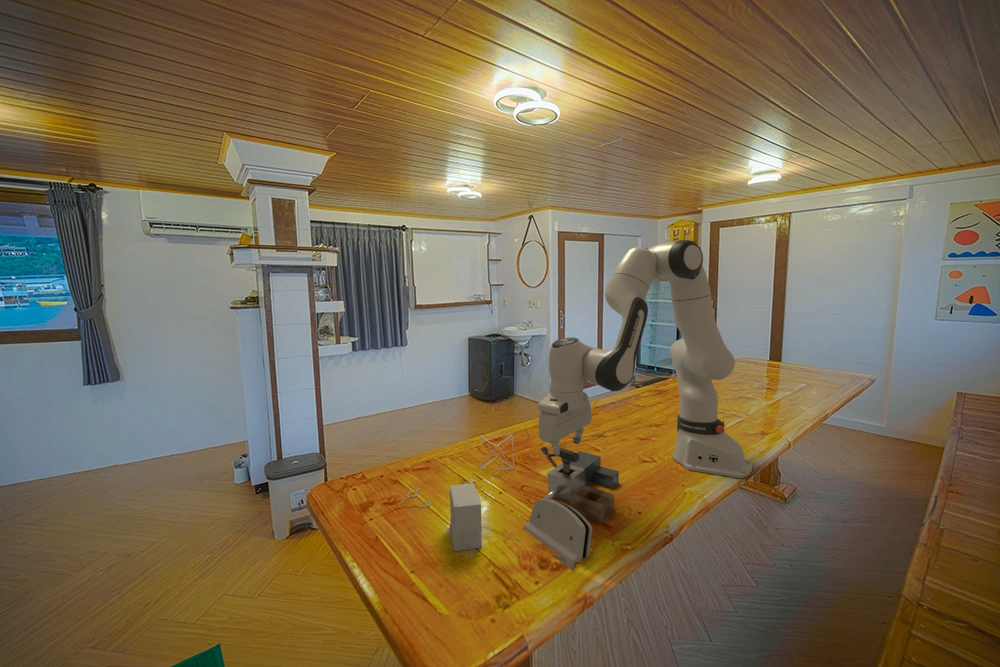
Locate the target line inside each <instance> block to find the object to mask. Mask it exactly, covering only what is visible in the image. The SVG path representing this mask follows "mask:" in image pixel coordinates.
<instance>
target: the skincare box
mask: <svg viewBox="0 0 1000 667" xmlns="http://www.w3.org/2000/svg"><path fill="white" fill-rule="evenodd" d="M449 505H450V506H449V508H450V513H449V514H450V531H451V533H450V534H451V538H452V544H453V549H454V552H458V551H465V550H473V549H479V548H482V547H483V545H482V542H483V541H482V504H481V499H480V497H479V494H478V490H477V488H476V485H475V483H473V482H472V483H464V484H462V483H461V484H453V485H449Z"/></svg>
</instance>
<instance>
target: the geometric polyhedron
mask: <svg viewBox="0 0 1000 667" xmlns="http://www.w3.org/2000/svg"><path fill="white" fill-rule="evenodd" d="M493 436H494V437H495V436H501V434H485V435H483V434H482V435H479V438H480V439H482V441H483V442H484V444H485V445H486V446H487V447H488V448H489V449H490V450H491V453H490V454H489V455H488V457H487V458H486V459H485V461H484V462H483V464H482V465H481V466H480V467H479V469H480V470H481V471H482V470H485V467H486V466H487V465H489V464H490V463H491V462H492V461H494V460H495V459H496V458H498V459H499V460H501V461H502V462H503V463H505V464H506V465H508V466H509V467H506V468H505V467H504V468H503V467H501V468H500V467H499V468H494V470H508V469H512V470H513V469H514V468H515V461H514V460H515V458H514V457H515V456H514V454H512V462H513V464H511V462H510V461H509V459H507V457H506V456H505V455H504V454H503V452H502V451H503V449H504V448H505V446H506V445H507V443H509V440H510V439H511V441H512V442H511V443H512V444H511V445H512V446H511V447H512V448H514V441H513V440H514V438H513V436H514V435H513V434H507V436H508V437H507V438H505V439H503V440H502V441H501V442H500V443H498V444H494V443H493V442H491V441H489V440H488V439H487V438H485V437H493ZM486 441H487V442H488V443H490V444H491V445H493V446H494V448H493V450H492V448H491V447H490V446H489V444H487V442H486ZM505 441H506V442H505ZM504 442H505V444H504V445H503V447H502V448H501V449H499V447H498V446H499V445H501V444H502V443H504ZM496 449H497V450H498V451H499V452H498V454H497V453H495V452H494V451H495V450H496ZM492 454H493V455H494V456H495V457H494V458H492V460H490V461H488V459H489V458H490V456H491V455H492ZM500 454H501V455H502V456H503V457H504V459H505V460H506V461H507V462H506V461H505V460H503V459H502V458H501V457H498V456H499V455H500ZM493 459H494V460H493ZM487 461H488V462H487Z"/></svg>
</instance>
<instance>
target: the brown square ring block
mask: <svg viewBox="0 0 1000 667" xmlns="http://www.w3.org/2000/svg"><path fill="white" fill-rule="evenodd" d="M569 506H571V507H572V508H574V509H575V510H577V511H578V512H579V513H580V514H581V515H582V516H583V517H584V518H585V519H586V520H587V521H588V522H589V521H590V522H593V523H595V524H598V525H602V523H603V522H604V521H605V520H606V519H607V518H608V517H609V516H610V515H611V513H613V511H614V510H615V494H614V493H611V492H607V491H603V490H601V489H599V488H595V487H591V486H589V487H588V486H584V487H583V488H582V489H580V490H579V491H578V492H577V493H576V494H575V495H574V496H572V497H571V498H570V501H569Z"/></svg>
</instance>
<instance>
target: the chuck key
mask: <svg viewBox="0 0 1000 667" xmlns="http://www.w3.org/2000/svg"><path fill="white" fill-rule="evenodd" d="M553 454H554V453H553ZM554 455H555V454H554ZM555 457H559V458H561V463H563V474H567V475H570V463H571V462H577V461H579V454H578V453H577V452H575V451H571V450H568V449H566V448H564V447H562V453H561V454H560V455H555Z"/></svg>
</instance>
